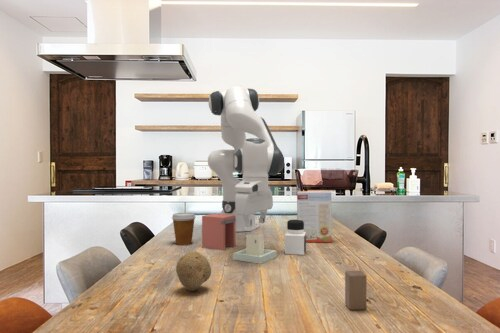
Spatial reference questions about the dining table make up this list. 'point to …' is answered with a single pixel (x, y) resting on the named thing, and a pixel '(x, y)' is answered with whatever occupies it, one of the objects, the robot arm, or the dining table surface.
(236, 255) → the dish
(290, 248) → the medicine bottle
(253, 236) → the tall beige block
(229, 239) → the block
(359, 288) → the wooden block
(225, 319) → the dining table surface
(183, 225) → the disposable coffee cup
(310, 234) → the cracker box
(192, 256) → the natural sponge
